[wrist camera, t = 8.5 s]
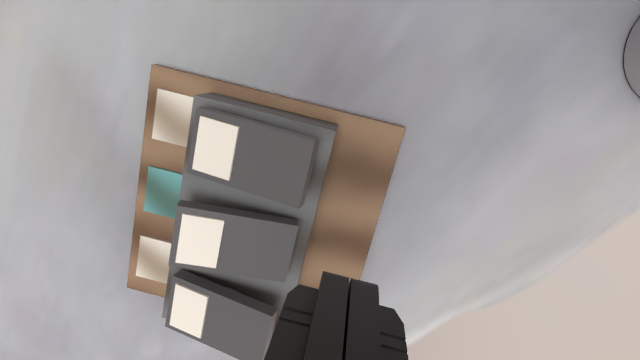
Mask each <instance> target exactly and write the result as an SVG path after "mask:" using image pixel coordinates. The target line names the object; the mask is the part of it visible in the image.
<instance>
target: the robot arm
mask: <svg viewBox="0 0 640 360" xmlns="http://www.w3.org/2000/svg"><path fill="white" fill-rule="evenodd" d="M624 68H625V73H626V78H627V80H628V82H629V84H630V86H631V88H632V89H633V90H634V92H635V93H636V94H637V95H638V96H639V97H640V18H639V19H638V21H637V22H636V24H635V25H634V27H633V29H632V31H631V33H630V35H629V37H628V40H627V44H626V48H625V52H624ZM405 339H406V338H405V331H404V324H403V322H402V321H401V319H400V318H399V316H398V314H397V313H396V311H395V310H394V309H392V308H388V307H384V306H381V305H379V291H378V285H376V284H372V283H368V282H364V281H361V280H357V279H353V278H351V279H350V282H349V277H345V276H341V275H337V274H333V273H330V272H326V271H323V273H322V277H321V280H320V284H319V288H318V289H316V288H312V287H308V286H305V285H301V284H299V285H297V286H296V287H295V288H294V289H292V290H291V291H290V292H288V293H287V296H286V299H285V302H284V305H283V308H282V310H281V313H280V316H279V319H278V321H277V324H276V327H275V330H274V333H273V335H272V338H271V341H270V344H269V347H268V350H267V352H266V355H265V358H264V360H408V355H407V346H406V342H405Z"/></svg>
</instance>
